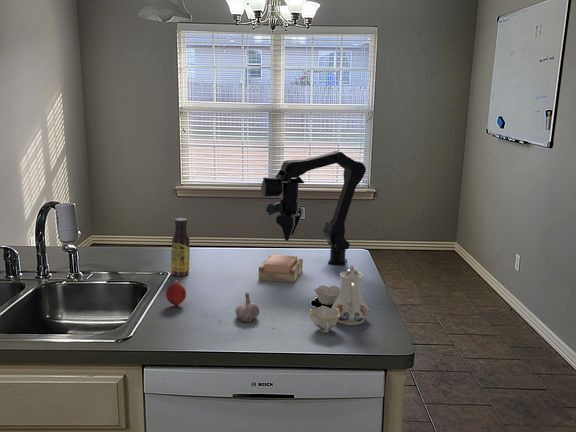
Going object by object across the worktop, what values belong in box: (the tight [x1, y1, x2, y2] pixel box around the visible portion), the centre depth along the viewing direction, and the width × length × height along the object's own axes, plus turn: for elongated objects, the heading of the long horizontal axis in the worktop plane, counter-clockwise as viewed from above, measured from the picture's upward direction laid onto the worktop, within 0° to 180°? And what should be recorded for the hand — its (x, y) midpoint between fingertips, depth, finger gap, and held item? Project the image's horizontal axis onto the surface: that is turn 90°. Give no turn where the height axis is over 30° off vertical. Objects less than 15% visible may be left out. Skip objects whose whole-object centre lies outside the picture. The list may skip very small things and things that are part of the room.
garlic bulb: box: [235, 291, 260, 323], centre depth 158 cm, size 8×7×8 cm
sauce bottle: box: [170, 217, 191, 277], centre depth 193 cm, size 7×6×20 cm
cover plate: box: [264, 254, 298, 273], centre depth 196 cm, size 12×9×2 cm
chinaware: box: [309, 264, 370, 334], centre depth 158 cm, size 28×17×17 cm, turn 178°
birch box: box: [258, 255, 304, 284], centre depth 196 cm, size 14×12×4 cm
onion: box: [165, 280, 187, 307], centre depth 166 cm, size 6×6×8 cm
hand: (289, 237), depth 204 cm, fingers open, 8 cm apart
